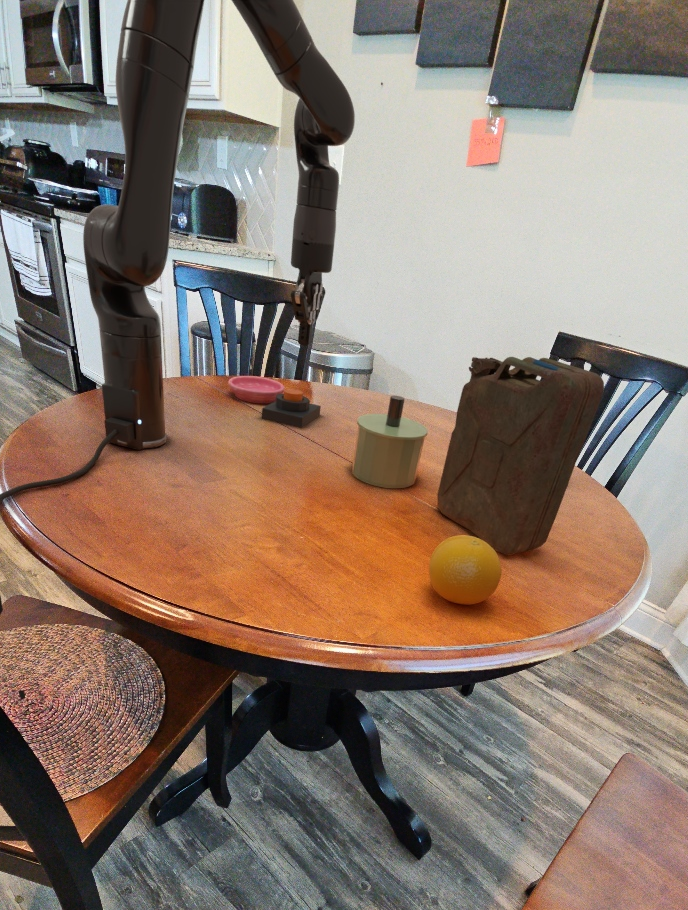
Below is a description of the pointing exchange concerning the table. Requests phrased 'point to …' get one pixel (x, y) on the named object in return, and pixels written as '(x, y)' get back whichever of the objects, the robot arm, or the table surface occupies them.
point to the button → (293, 395)
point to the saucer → (255, 389)
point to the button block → (291, 411)
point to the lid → (393, 423)
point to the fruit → (464, 569)
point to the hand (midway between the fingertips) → (304, 344)
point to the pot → (386, 460)
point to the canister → (516, 448)
